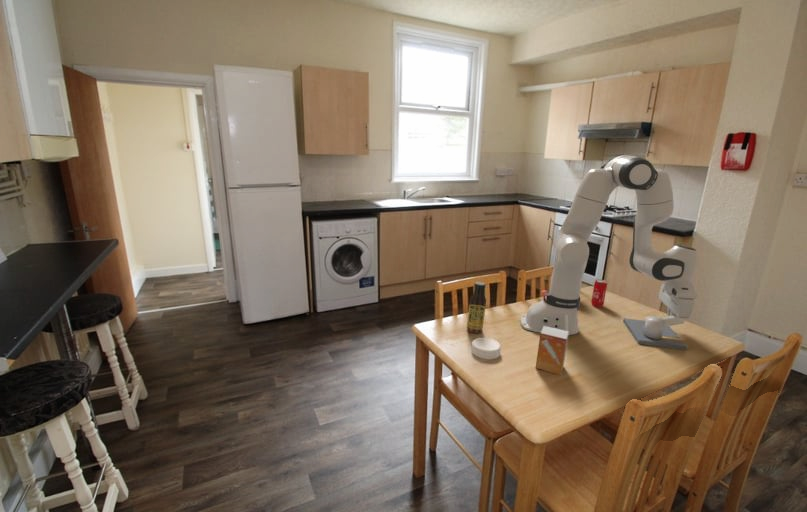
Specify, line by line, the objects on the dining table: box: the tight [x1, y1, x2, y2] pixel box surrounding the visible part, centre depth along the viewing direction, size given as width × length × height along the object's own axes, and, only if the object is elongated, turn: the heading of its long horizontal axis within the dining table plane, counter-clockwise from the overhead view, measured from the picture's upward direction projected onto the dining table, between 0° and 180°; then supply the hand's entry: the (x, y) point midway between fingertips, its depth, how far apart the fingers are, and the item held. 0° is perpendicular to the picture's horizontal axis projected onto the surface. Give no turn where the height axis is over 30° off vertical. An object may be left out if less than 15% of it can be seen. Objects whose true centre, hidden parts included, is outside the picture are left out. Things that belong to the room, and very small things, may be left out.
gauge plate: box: [622, 317, 688, 351], centre depth 151 cm, size 16×20×2 cm
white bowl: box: [471, 337, 502, 360], centre depth 135 cm, size 10×10×4 cm
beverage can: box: [591, 279, 608, 308], centre depth 178 cm, size 5×5×12 cm
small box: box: [535, 326, 570, 376], centre depth 125 cm, size 8×6×13 cm
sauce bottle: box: [466, 281, 487, 334], centre depth 149 cm, size 7×6×20 cm
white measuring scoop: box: [643, 315, 686, 339], centre depth 148 cm, size 17×6×6 cm, turn 108°
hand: (670, 319), depth 152 cm, fingers closed
